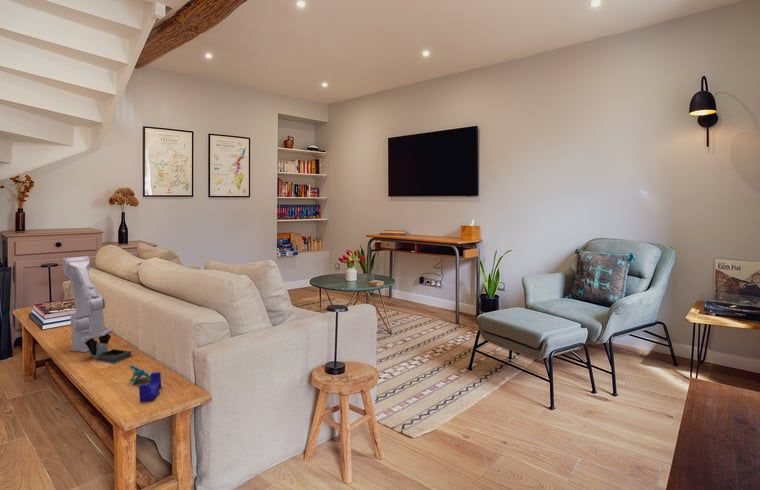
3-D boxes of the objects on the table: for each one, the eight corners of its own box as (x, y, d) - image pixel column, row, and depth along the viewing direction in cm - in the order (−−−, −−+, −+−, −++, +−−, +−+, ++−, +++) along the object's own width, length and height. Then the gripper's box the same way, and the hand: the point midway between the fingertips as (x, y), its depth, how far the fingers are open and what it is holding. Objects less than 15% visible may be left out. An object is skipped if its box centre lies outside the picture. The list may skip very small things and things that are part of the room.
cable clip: (153, 401, 158) (152, 385, 158) (139, 402, 158) (138, 385, 157) (165, 386, 170) (164, 371, 169) (153, 387, 170) (152, 372, 169)
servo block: (90, 356, 201) (89, 344, 200) (98, 353, 205) (97, 341, 204) (99, 358, 199) (99, 345, 199) (107, 355, 203) (107, 342, 202)
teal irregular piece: (158, 378, 174) (136, 365, 169) (148, 392, 171) (126, 379, 166) (148, 374, 182) (127, 361, 176) (138, 387, 179) (117, 375, 173)
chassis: (95, 360, 196) (95, 355, 196) (115, 353, 206) (114, 347, 205) (114, 363, 193) (114, 358, 192) (133, 355, 202) (133, 350, 202)
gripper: (88, 329, 192) (90, 359, 194) (117, 320, 206) (119, 348, 207) (76, 327, 194) (78, 357, 196) (105, 318, 208) (107, 346, 210)
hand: (98, 352), depth 202 cm, fingers open, 4 cm apart
